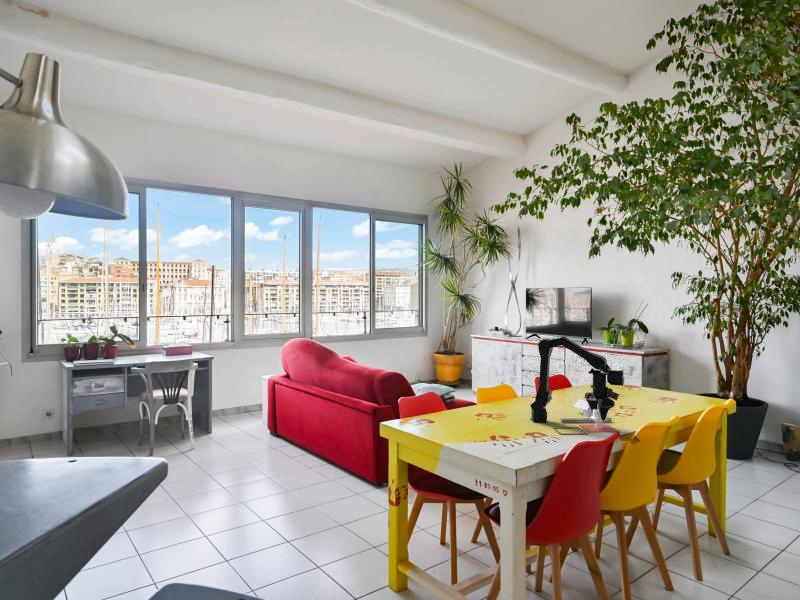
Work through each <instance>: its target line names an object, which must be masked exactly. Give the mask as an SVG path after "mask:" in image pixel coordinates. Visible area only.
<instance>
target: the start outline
mask: <svg viewBox="0 0 800 600" xmlns="http://www.w3.org/2000/svg"><path fill="white" fill-rule="evenodd" d="M551 429H553V430H554V431H555V432H557V433H558V434H559V435H561V436H568V435H570V436H573V435H577V436H578V435H579V436H580V435H583V436H584V435H586V436H587V435H589V432H588V431H587V432H586V430H585V429H583V428H582V427H580V426H567V427H566V426H565V427H562V426H558V427H557V426H553V427H551ZM557 429H578V430H579V431H581V432H582V433H579V432H577V433H576V432H575V433H574V432H573V433H569V432H567V433H561V432H560V431H559V430H557Z"/></svg>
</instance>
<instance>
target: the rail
mask: <svg viewBox="0 0 800 600" xmlns="http://www.w3.org/2000/svg"><path fill="white" fill-rule="evenodd" d="M606 418H607V420H606V421H602V422H603V423H605V424H607V423H612V418H610V417H606ZM560 422H561V423H562V424H580V423H581V424H584V423H585V424H587V423H589V424H590V423H592V424H595V420H592V419H590V417H587V418H586V417H585V418H582V417H581V418H560Z"/></svg>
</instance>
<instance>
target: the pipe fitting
mask: <svg viewBox="0 0 800 600" xmlns="http://www.w3.org/2000/svg"><path fill="white" fill-rule="evenodd" d="M589 418H590V419H592V420H595V423H594V425H595V428H597V429H602V426H603V422H602V418H601V415H600V412H599V409H594V410H593V416H591V417H589ZM607 418H608V417H606V419H605V421H606V420H607Z"/></svg>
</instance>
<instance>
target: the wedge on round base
mask: <svg viewBox="0 0 800 600" xmlns="http://www.w3.org/2000/svg"><path fill="white" fill-rule="evenodd" d="M573 408H577V409H581V410H582V413H583V416H585V418H586V417H587V418H590V417H591V416H593V413H592V411H591V409H590V407H589V405H588V403H587V401H586V399H585V400H584V399H580V398H579V399H578V400H577V402H576V403H575V404H574V405H573ZM597 409H598V406H597Z"/></svg>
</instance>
